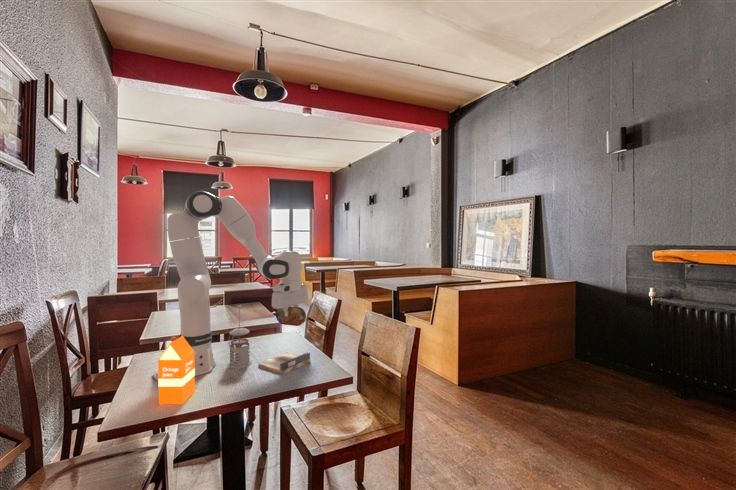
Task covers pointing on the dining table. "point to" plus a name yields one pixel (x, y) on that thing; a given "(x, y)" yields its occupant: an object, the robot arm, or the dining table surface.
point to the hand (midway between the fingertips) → (290, 315)
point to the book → (275, 363)
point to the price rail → (294, 361)
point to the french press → (239, 348)
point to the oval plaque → (291, 316)
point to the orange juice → (176, 373)
